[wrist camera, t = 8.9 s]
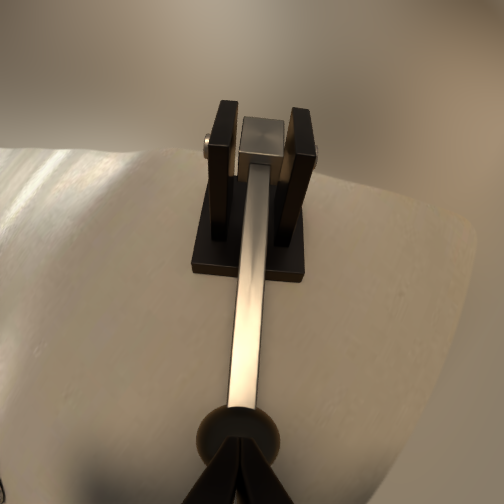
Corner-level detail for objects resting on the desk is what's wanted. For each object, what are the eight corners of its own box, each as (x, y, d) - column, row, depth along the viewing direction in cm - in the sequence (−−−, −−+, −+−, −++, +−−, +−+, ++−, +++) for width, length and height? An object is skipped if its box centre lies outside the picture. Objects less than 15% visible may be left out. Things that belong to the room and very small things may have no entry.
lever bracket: (300, 282, 20) (343, 187, 12) (192, 272, 19) (176, 169, 12) (297, 192, 24) (323, 97, 17) (210, 184, 24) (208, 85, 16)
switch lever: (271, 468, 11) (283, 491, 8) (197, 463, 11) (189, 485, 8) (285, 154, 18) (294, 116, 15) (233, 149, 18) (234, 109, 15)
